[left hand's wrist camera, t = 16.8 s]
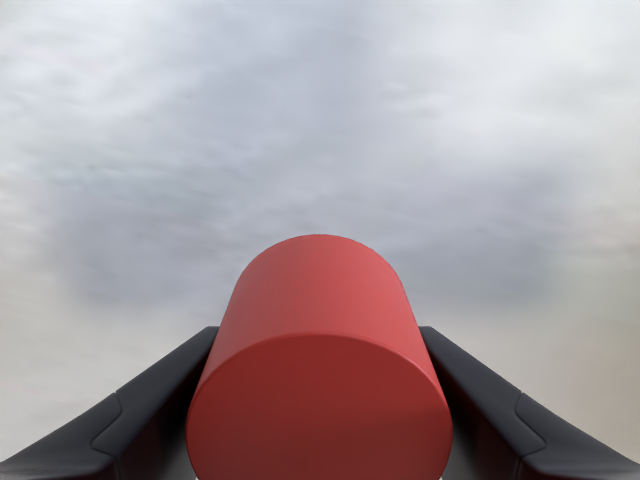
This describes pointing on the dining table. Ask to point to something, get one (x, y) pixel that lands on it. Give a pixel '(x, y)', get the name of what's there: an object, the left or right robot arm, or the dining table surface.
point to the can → (318, 374)
